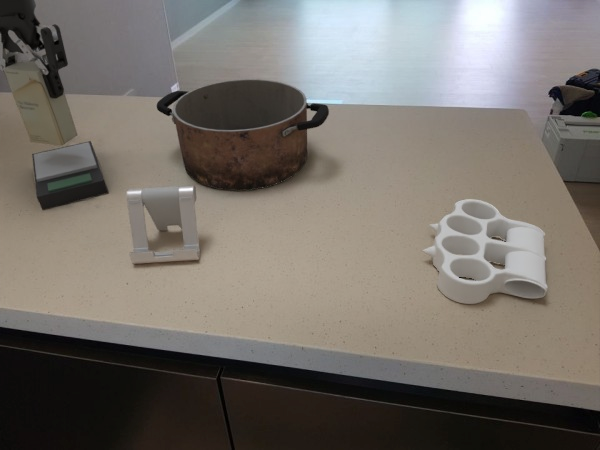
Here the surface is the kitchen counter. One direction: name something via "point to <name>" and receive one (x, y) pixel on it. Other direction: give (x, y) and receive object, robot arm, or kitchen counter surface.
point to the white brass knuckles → (487, 254)
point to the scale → (67, 175)
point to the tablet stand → (163, 221)
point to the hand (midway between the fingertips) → (39, 94)
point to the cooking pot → (242, 131)
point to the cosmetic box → (39, 105)
